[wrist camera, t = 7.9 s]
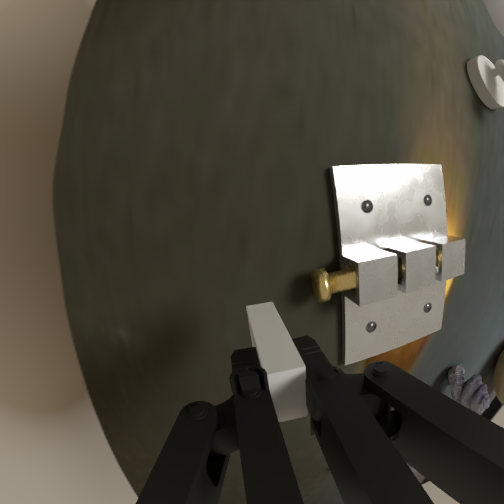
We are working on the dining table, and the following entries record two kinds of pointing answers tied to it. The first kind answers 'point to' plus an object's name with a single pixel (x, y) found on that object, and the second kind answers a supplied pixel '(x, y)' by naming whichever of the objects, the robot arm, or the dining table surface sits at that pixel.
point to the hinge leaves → (392, 254)
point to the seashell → (468, 390)
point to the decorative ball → (499, 378)
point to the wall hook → (487, 80)
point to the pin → (339, 281)
